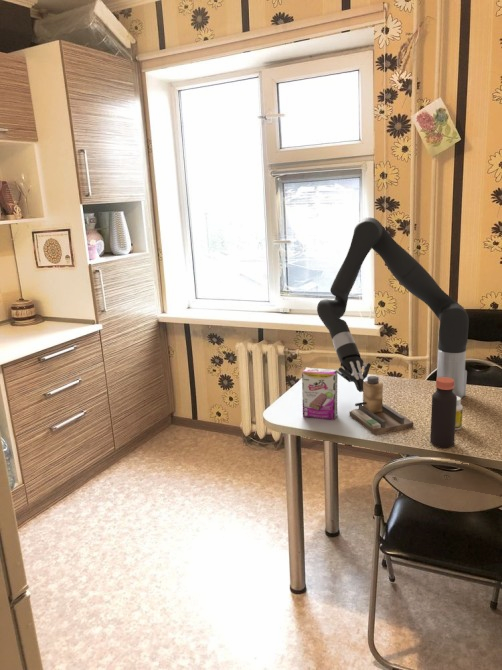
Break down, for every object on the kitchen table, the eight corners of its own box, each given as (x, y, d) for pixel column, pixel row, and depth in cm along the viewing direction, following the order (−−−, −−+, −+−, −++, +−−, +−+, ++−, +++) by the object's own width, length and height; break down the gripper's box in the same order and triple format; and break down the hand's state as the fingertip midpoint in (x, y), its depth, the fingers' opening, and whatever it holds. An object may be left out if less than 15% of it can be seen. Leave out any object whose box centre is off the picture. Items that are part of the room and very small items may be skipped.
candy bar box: (302, 417, 187) (301, 371, 183) (305, 411, 192) (304, 366, 187) (335, 420, 184) (334, 373, 179) (337, 414, 188) (337, 368, 184)
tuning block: (375, 407, 188) (376, 374, 185) (382, 411, 184) (382, 378, 181) (352, 411, 185) (352, 379, 182) (358, 416, 182) (358, 382, 179)
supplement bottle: (463, 430, 172) (464, 401, 169) (444, 430, 173) (446, 400, 170) (460, 423, 177) (461, 394, 174) (442, 422, 178) (443, 394, 175)
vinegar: (457, 448, 161) (461, 383, 156) (434, 448, 161) (437, 384, 156) (449, 437, 168) (453, 375, 162) (427, 438, 168) (429, 376, 163)
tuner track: (385, 408, 191) (386, 399, 190) (413, 426, 176) (413, 416, 175) (349, 415, 187) (349, 406, 186) (374, 434, 172) (374, 424, 171)
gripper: (332, 344, 193) (349, 389, 185) (365, 339, 197) (383, 383, 189) (325, 354, 199) (341, 398, 191) (358, 350, 203) (375, 392, 195)
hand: (362, 390), depth 190 cm, fingers closed
